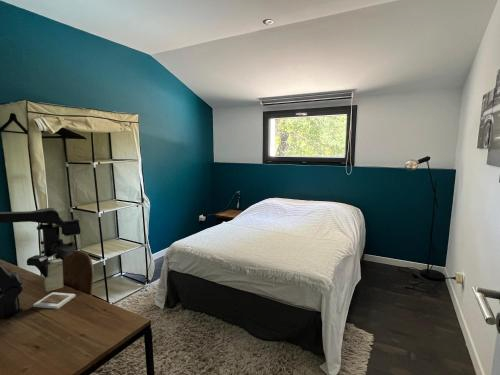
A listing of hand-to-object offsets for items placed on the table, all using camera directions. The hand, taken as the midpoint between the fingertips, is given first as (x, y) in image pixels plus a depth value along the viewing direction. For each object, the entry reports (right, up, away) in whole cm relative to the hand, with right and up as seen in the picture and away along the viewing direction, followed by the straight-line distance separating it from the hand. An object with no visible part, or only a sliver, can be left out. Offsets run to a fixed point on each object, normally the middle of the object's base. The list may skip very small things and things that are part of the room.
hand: (53, 273), depth 115 cm
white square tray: (-1, -13, +2) cm, 13 cm away
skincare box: (0, -7, +1) cm, 7 cm away
